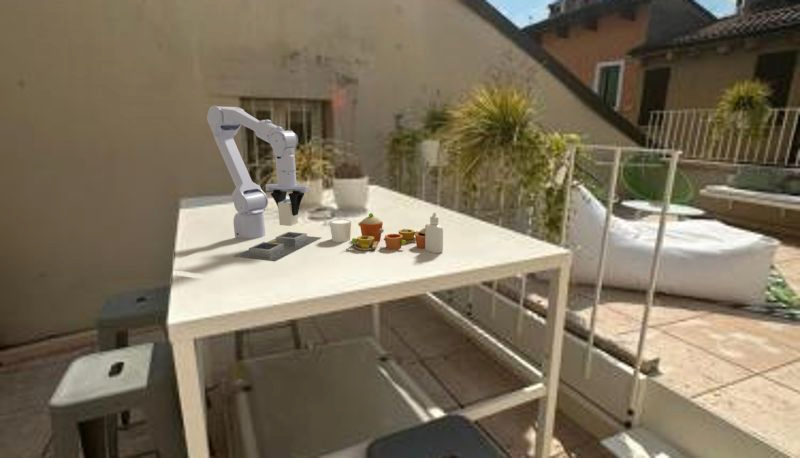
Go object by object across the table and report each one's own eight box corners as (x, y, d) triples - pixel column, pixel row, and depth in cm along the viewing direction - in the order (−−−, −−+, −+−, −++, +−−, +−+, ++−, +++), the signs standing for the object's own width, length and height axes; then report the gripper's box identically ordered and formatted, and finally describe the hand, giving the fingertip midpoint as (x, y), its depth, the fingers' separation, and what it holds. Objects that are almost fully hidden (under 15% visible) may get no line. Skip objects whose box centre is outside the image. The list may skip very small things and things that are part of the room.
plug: (279, 224, 132) (277, 200, 131) (287, 222, 136) (285, 198, 134) (290, 225, 131) (288, 201, 129) (297, 222, 135) (296, 198, 133)
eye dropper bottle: (437, 248, 132) (437, 210, 129) (444, 253, 126) (444, 213, 123) (423, 249, 130) (424, 210, 127) (430, 254, 125) (430, 214, 122)
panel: (233, 259, 121) (232, 249, 120) (285, 237, 145) (285, 228, 144) (275, 264, 117) (274, 254, 116) (322, 240, 140) (321, 231, 140)
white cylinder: (348, 245, 134) (347, 224, 133) (327, 244, 136) (326, 223, 134) (354, 240, 141) (354, 219, 139) (335, 239, 142) (334, 218, 140)
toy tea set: (351, 252, 128) (350, 221, 126) (354, 239, 143) (353, 211, 141) (437, 251, 129) (438, 220, 127) (431, 238, 144) (431, 210, 142)
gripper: (258, 171, 129) (261, 215, 132) (299, 173, 124) (302, 218, 127) (272, 169, 135) (275, 211, 139) (312, 170, 130) (314, 214, 134)
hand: (289, 214), depth 133 cm, fingers closed on plug, 4 cm apart
